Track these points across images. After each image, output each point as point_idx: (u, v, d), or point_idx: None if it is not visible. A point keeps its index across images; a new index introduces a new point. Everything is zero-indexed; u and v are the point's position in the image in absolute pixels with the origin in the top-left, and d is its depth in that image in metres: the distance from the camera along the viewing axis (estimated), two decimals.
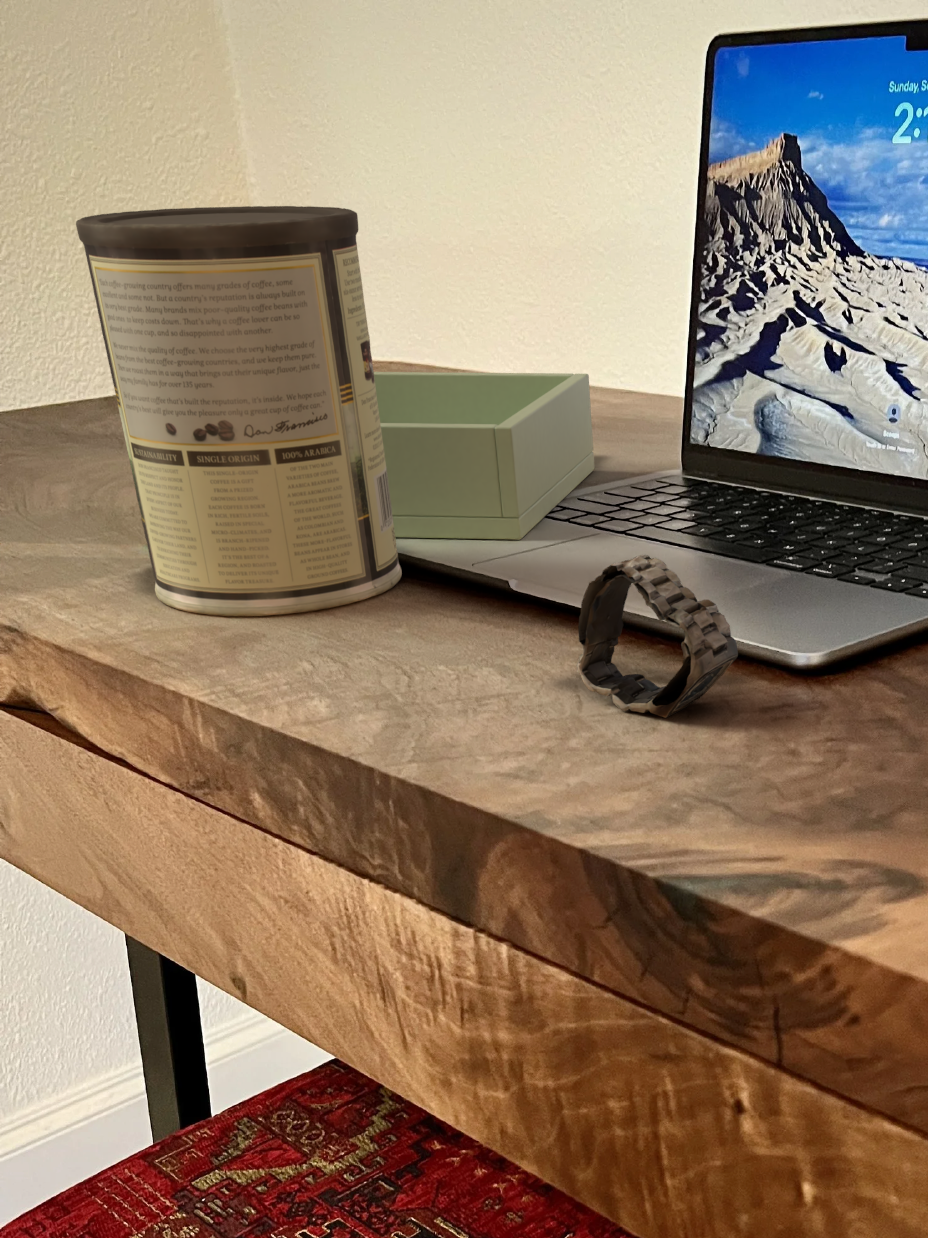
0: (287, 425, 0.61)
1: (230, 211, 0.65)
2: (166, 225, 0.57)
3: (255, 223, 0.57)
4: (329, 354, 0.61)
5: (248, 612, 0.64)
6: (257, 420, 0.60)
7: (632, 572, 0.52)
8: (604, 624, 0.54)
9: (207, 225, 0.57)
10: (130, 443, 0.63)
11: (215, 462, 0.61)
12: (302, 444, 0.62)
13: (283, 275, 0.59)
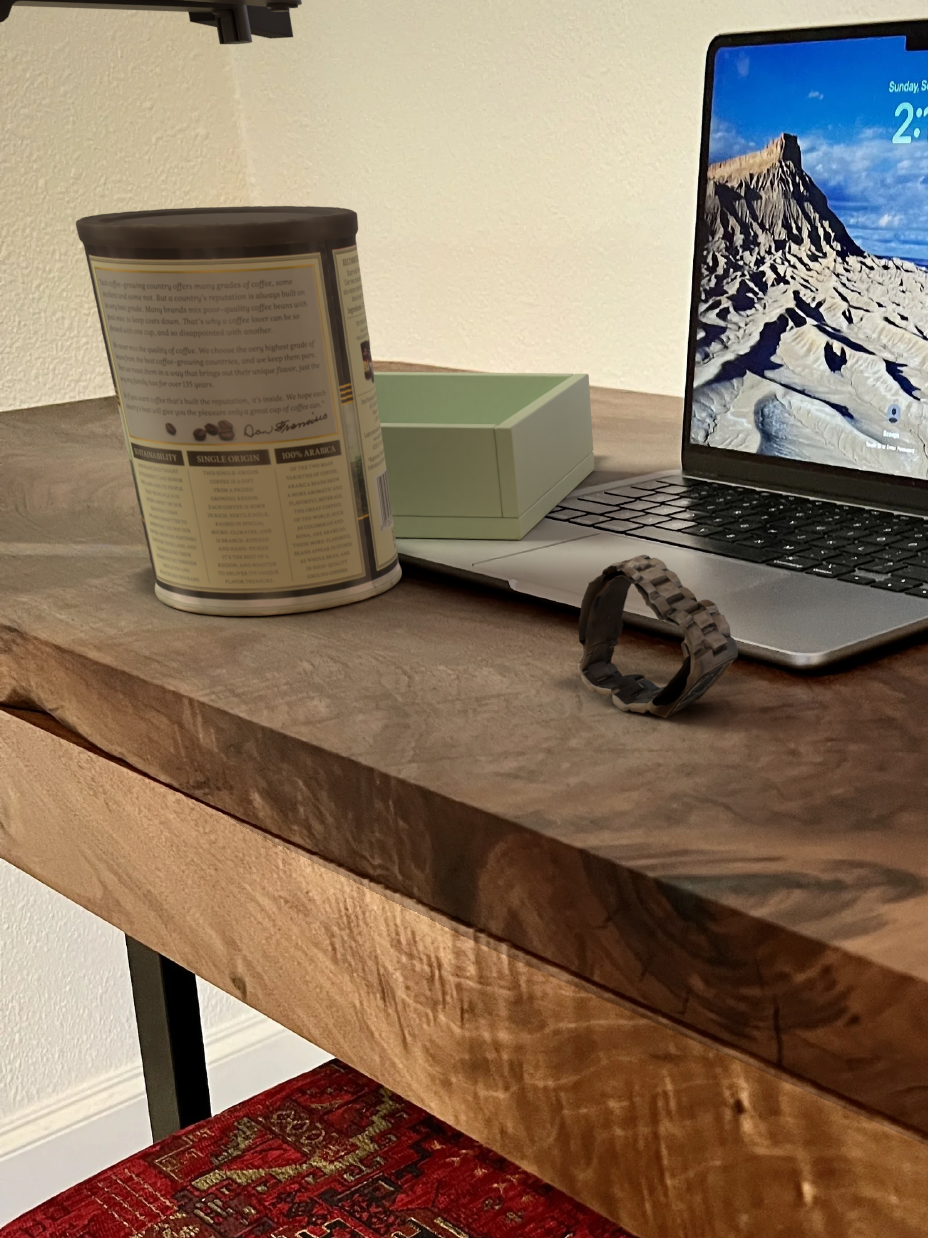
0: (286, 424, 0.61)
1: (230, 211, 0.65)
2: (166, 225, 0.57)
3: (255, 223, 0.57)
4: (329, 354, 0.61)
5: (248, 612, 0.64)
6: (256, 420, 0.60)
7: (632, 572, 0.52)
8: (604, 624, 0.54)
9: (207, 225, 0.57)
10: (130, 443, 0.63)
11: (215, 462, 0.61)
12: (302, 443, 0.62)
13: (283, 275, 0.59)
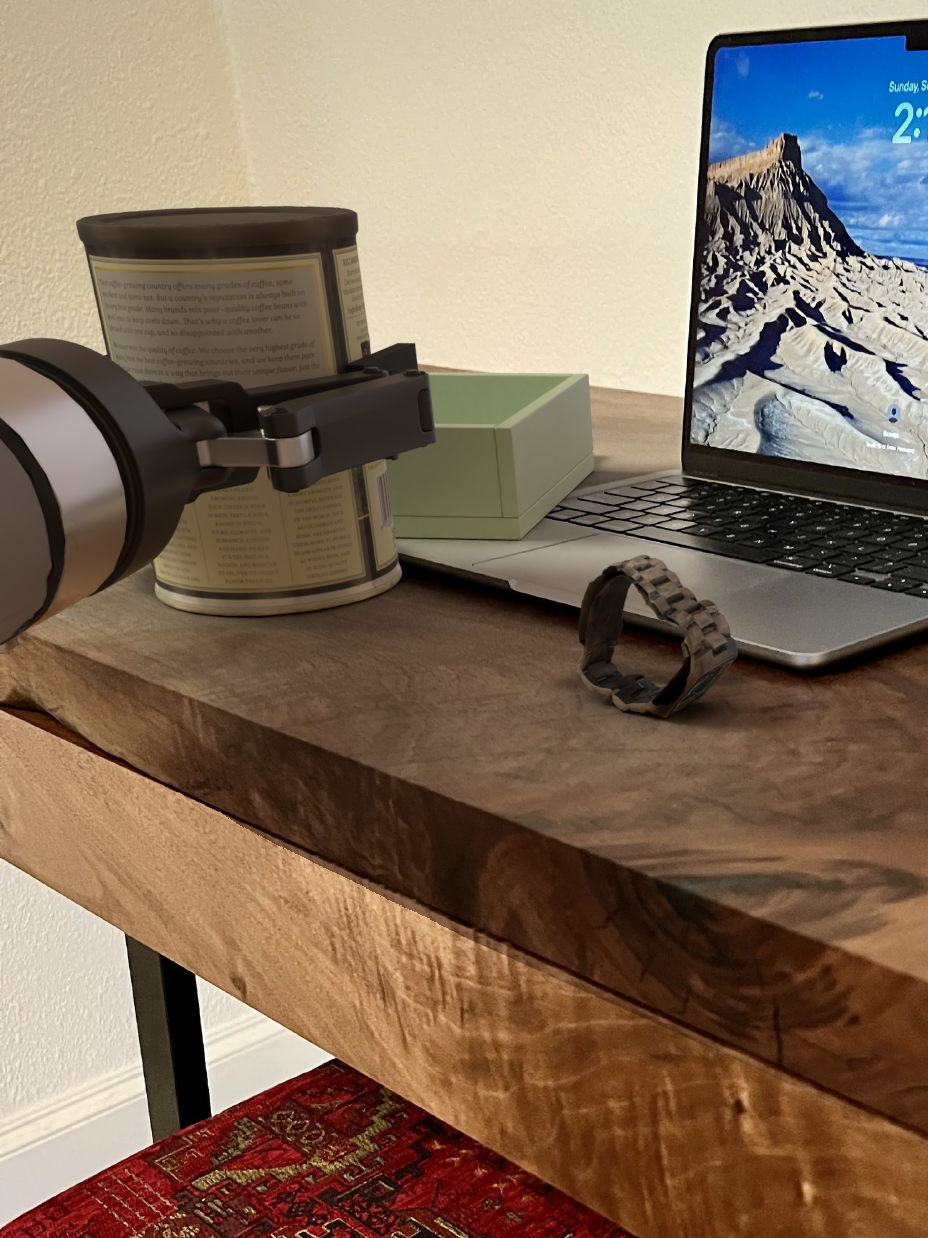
0: None
1: (230, 211, 0.65)
2: (166, 225, 0.57)
3: (255, 223, 0.57)
4: (329, 354, 0.61)
5: (248, 612, 0.64)
6: None
7: (632, 572, 0.52)
8: (604, 624, 0.54)
9: (207, 225, 0.57)
10: None
11: None
12: None
13: (284, 275, 0.59)
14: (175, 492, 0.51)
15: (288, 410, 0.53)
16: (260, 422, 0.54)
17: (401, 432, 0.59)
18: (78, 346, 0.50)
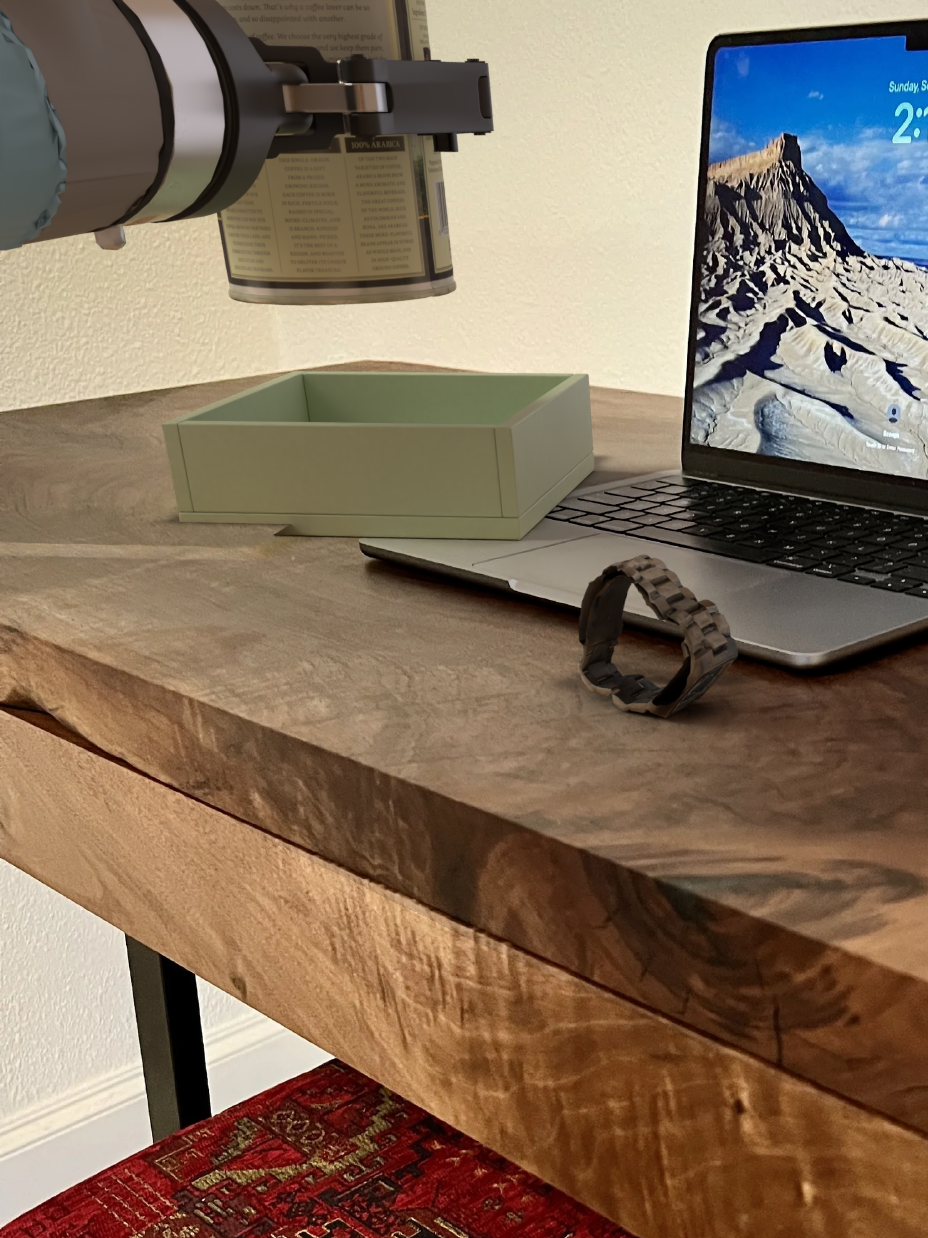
0: None
1: None
2: None
3: None
4: (395, 50, 0.66)
5: (317, 301, 0.69)
6: None
7: (632, 572, 0.52)
8: (604, 624, 0.54)
9: None
10: None
11: None
12: None
13: None
14: (264, 123, 0.56)
15: (366, 57, 0.58)
16: (339, 74, 0.59)
17: (463, 112, 0.64)
18: None
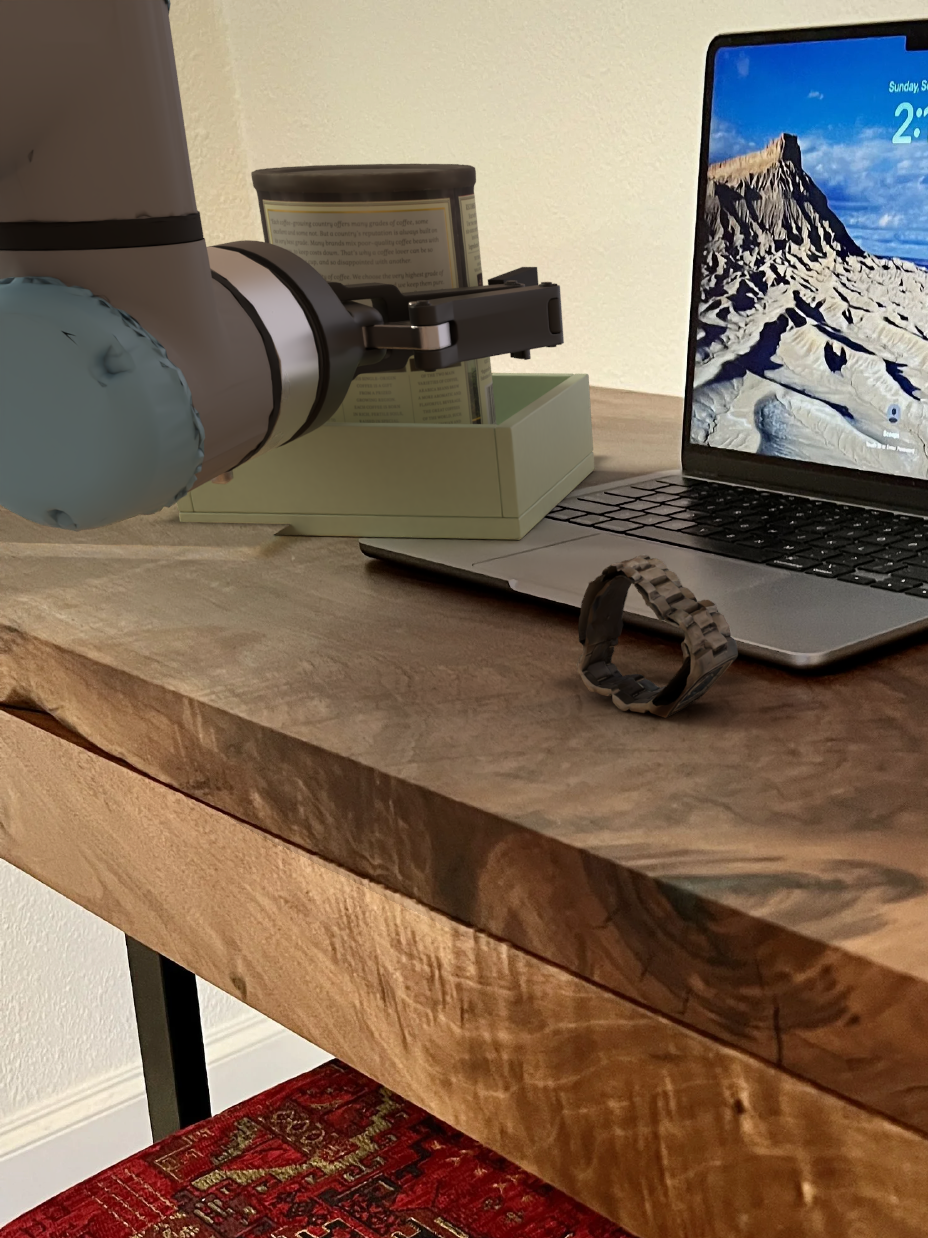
0: None
1: (367, 167, 0.79)
2: (331, 174, 0.71)
3: (401, 172, 0.71)
4: (454, 282, 0.75)
5: None
6: None
7: (632, 572, 0.52)
8: (604, 624, 0.54)
9: (363, 174, 0.71)
10: None
11: None
12: None
13: (421, 216, 0.73)
14: (348, 364, 0.65)
15: (429, 304, 0.66)
16: None
17: (531, 332, 0.72)
18: (277, 247, 0.63)
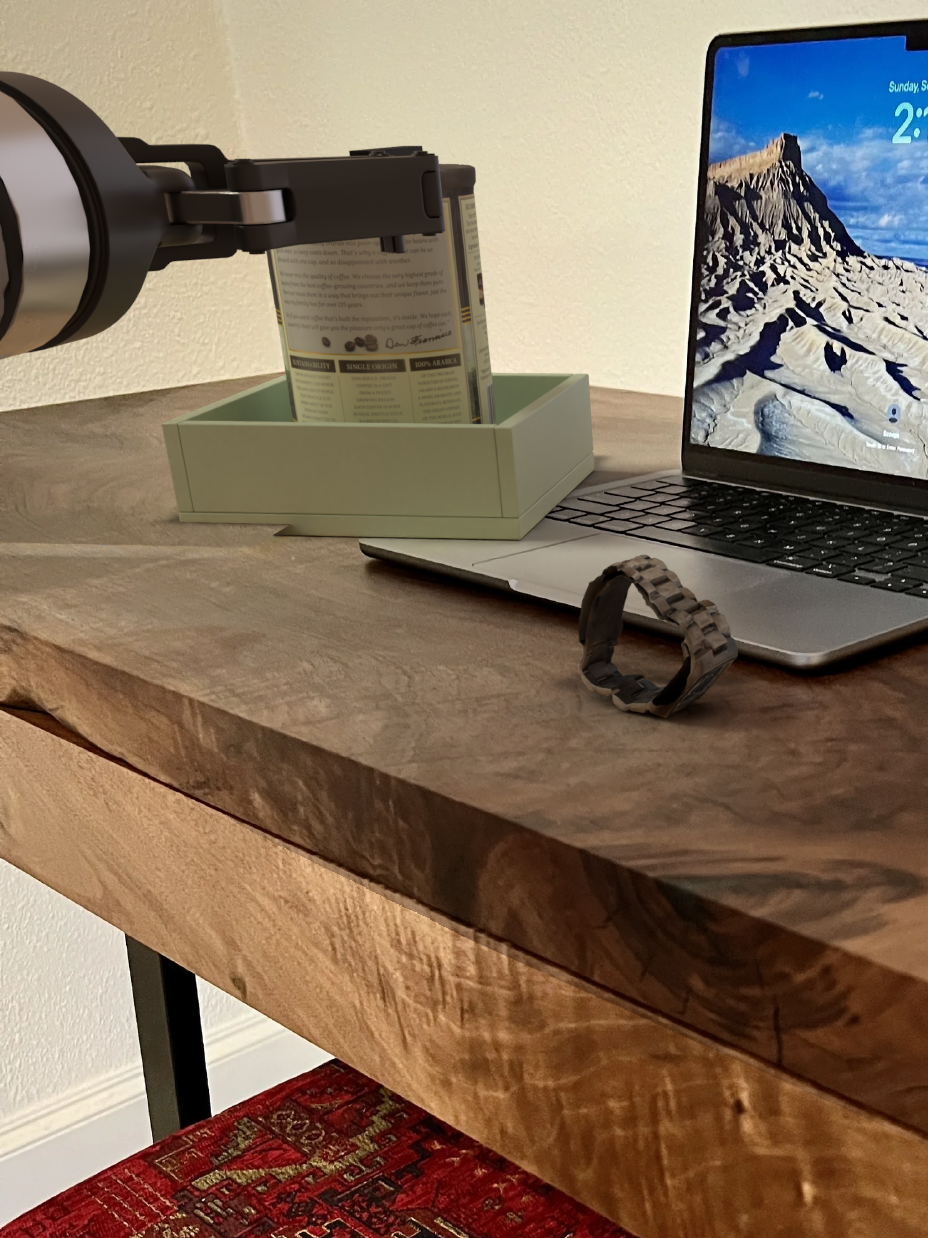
0: (419, 339, 0.75)
1: None
2: None
3: None
4: (454, 282, 0.75)
5: None
6: (396, 334, 0.74)
7: (632, 572, 0.52)
8: (604, 624, 0.54)
9: None
10: (289, 355, 0.77)
11: (361, 370, 0.75)
12: (431, 355, 0.76)
13: None
14: (142, 239, 0.50)
15: (252, 162, 0.50)
16: None
17: (399, 213, 0.56)
18: (40, 79, 0.48)
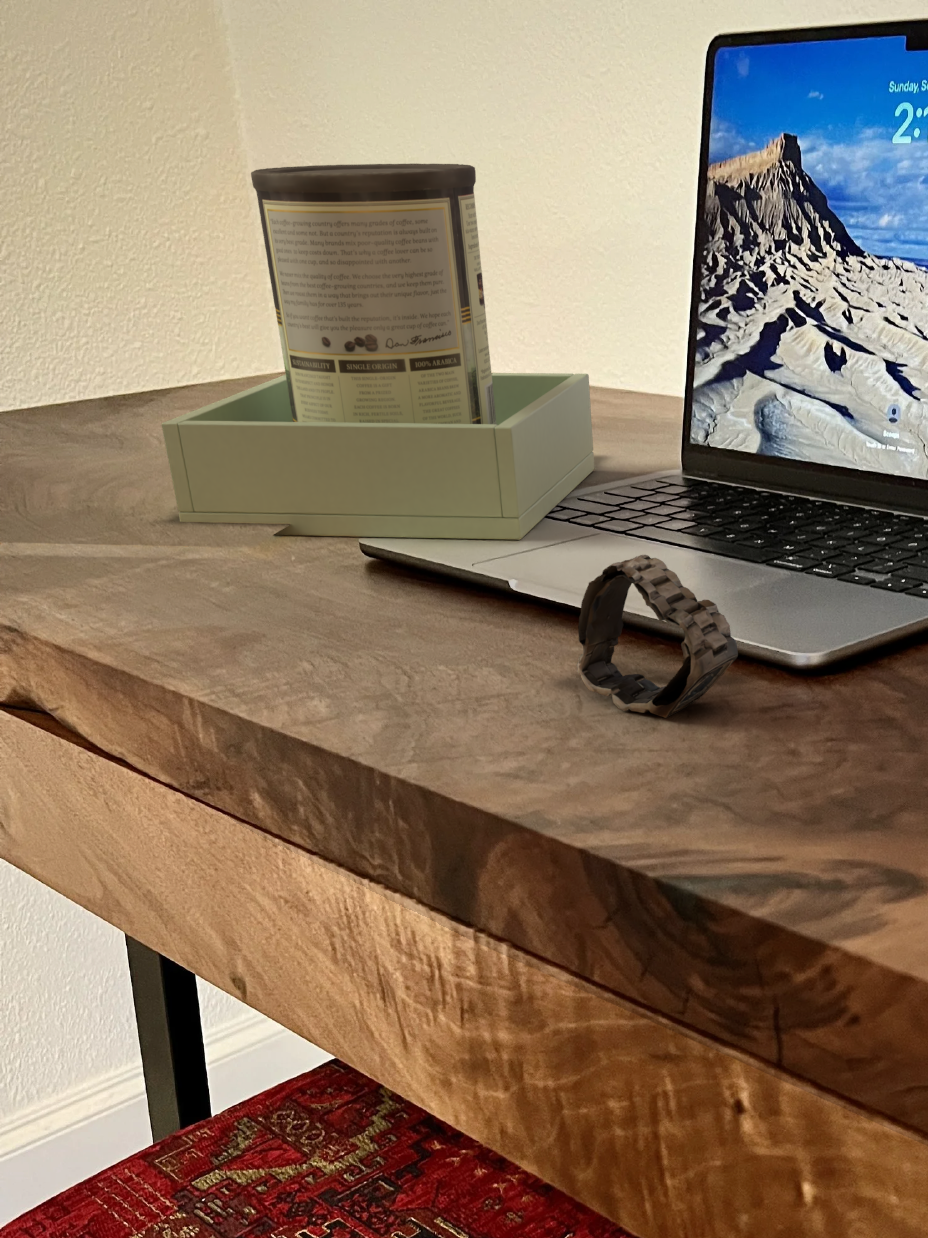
0: (419, 339, 0.75)
1: (366, 167, 0.79)
2: (330, 173, 0.71)
3: (401, 172, 0.71)
4: (454, 282, 0.75)
5: None
6: (396, 334, 0.74)
7: (632, 572, 0.52)
8: (604, 624, 0.54)
9: (363, 173, 0.71)
10: (289, 355, 0.77)
11: (361, 369, 0.75)
12: (431, 355, 0.76)
13: (421, 216, 0.73)
14: None
15: None
16: None
17: None
18: None
